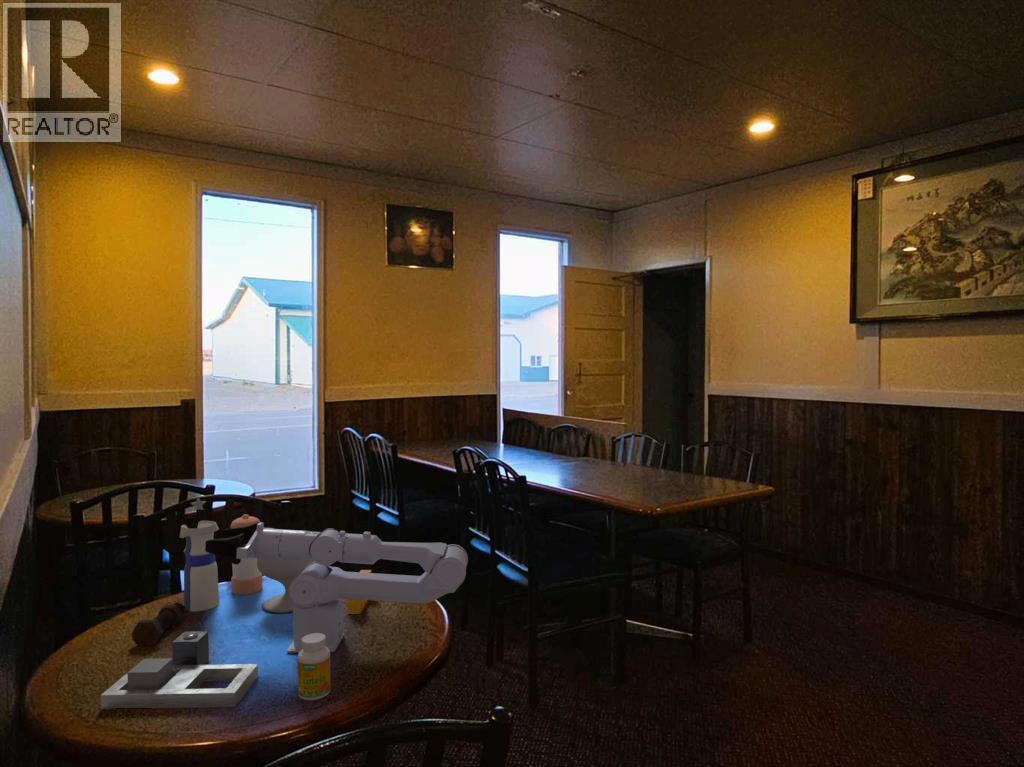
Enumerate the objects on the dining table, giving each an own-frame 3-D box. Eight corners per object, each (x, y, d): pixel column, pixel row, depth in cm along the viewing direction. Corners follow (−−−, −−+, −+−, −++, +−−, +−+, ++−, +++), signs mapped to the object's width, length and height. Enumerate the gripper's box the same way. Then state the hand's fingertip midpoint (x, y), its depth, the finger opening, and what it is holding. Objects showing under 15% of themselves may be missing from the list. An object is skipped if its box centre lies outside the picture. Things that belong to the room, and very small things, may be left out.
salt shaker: (261, 593, 156) (259, 516, 156) (229, 596, 154) (227, 519, 153) (263, 583, 163) (262, 510, 163) (233, 586, 161) (231, 512, 160)
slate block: (173, 686, 111) (172, 658, 111) (158, 701, 106) (157, 672, 106) (144, 686, 111) (144, 658, 111) (128, 701, 106) (127, 672, 106)
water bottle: (173, 607, 147) (170, 501, 147) (208, 596, 154) (206, 495, 154) (191, 615, 143) (189, 506, 142) (227, 603, 150) (224, 499, 149)
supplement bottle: (299, 704, 105) (298, 647, 104) (296, 689, 110) (295, 634, 109) (332, 697, 107) (331, 641, 107) (328, 682, 112) (327, 629, 112)
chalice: (279, 591, 157) (278, 532, 157) (330, 595, 154) (329, 534, 154) (245, 613, 143) (243, 548, 143) (300, 617, 141) (299, 551, 140)
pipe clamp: (354, 596, 154) (353, 570, 154) (371, 596, 154) (371, 570, 154) (340, 615, 142) (339, 587, 142) (359, 615, 142) (358, 587, 142)
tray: (258, 676, 114) (257, 663, 114) (234, 706, 104) (234, 692, 104) (136, 679, 114) (135, 666, 114) (100, 709, 104) (100, 695, 104)
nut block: (208, 662, 120) (208, 629, 120) (197, 673, 116) (196, 640, 115) (185, 662, 120) (184, 630, 120) (173, 674, 115) (172, 640, 115)
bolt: (182, 625, 142) (149, 653, 127) (162, 614, 142) (126, 641, 127) (195, 602, 142) (163, 627, 127) (175, 591, 142) (141, 616, 127)
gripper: (295, 515, 133) (231, 511, 133) (271, 534, 119) (198, 530, 119) (293, 548, 134) (229, 544, 133) (269, 571, 119) (197, 567, 119)
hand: (215, 540), depth 126 cm, fingers open, 7 cm apart
